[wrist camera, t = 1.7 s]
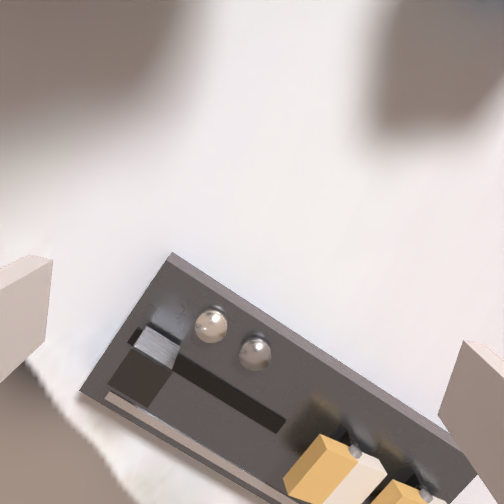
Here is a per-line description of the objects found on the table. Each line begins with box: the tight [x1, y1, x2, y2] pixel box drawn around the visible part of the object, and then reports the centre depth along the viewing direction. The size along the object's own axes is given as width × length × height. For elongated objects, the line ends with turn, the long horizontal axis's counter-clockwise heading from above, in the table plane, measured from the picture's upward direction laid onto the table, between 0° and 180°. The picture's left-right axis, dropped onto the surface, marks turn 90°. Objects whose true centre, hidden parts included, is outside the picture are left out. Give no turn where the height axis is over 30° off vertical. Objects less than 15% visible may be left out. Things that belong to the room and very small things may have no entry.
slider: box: [107, 326, 180, 408], centre depth 32 cm, size 3×3×4 cm
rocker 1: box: [283, 434, 388, 504], centre depth 34 cm, size 6×6×2 cm
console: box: [79, 252, 477, 504], centre depth 36 cm, size 31×13×4 cm, turn 55°
